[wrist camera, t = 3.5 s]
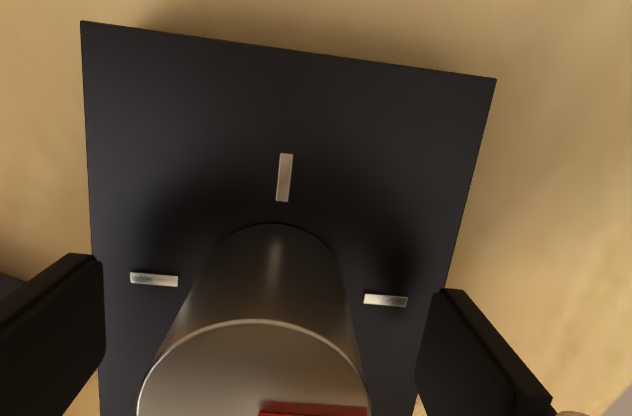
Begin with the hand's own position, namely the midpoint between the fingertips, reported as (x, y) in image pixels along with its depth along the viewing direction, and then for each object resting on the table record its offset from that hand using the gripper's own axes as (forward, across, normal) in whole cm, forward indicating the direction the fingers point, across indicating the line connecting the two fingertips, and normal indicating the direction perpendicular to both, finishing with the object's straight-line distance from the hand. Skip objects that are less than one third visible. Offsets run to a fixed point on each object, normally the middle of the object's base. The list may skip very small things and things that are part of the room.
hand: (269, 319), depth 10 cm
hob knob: (+2, 0, 0) cm, 2 cm away
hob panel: (+4, 0, 0) cm, 4 cm away
